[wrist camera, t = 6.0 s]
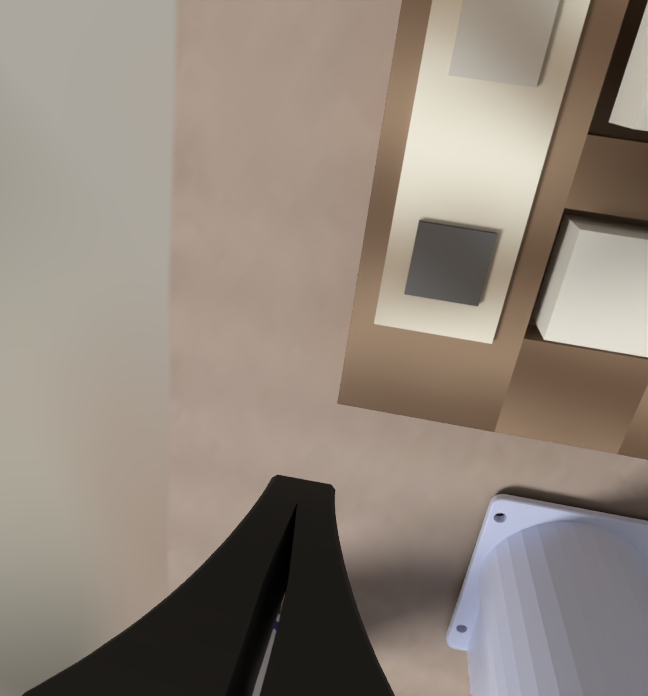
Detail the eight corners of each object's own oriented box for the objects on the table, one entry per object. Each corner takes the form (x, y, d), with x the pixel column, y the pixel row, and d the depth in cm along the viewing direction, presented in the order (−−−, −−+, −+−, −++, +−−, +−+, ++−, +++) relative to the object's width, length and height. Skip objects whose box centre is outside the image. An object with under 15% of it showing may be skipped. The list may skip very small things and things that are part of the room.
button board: (648, 431, 22) (673, 470, 20) (343, 377, 23) (336, 409, 21) (1129, -623, 11) (1297, -784, 9) (510, -659, 12) (531, -815, 10)
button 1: (636, 333, 20) (658, 359, 18) (532, 315, 20) (543, 339, 18) (678, 231, 18) (707, 249, 17) (564, 214, 19) (580, 229, 17)
